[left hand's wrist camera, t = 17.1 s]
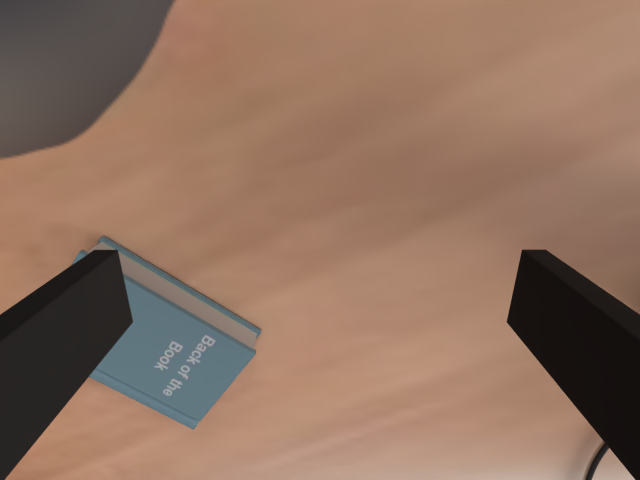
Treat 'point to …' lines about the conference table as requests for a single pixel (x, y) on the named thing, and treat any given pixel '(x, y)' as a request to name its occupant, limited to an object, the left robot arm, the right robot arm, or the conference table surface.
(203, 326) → the book
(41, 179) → the conference table surface
